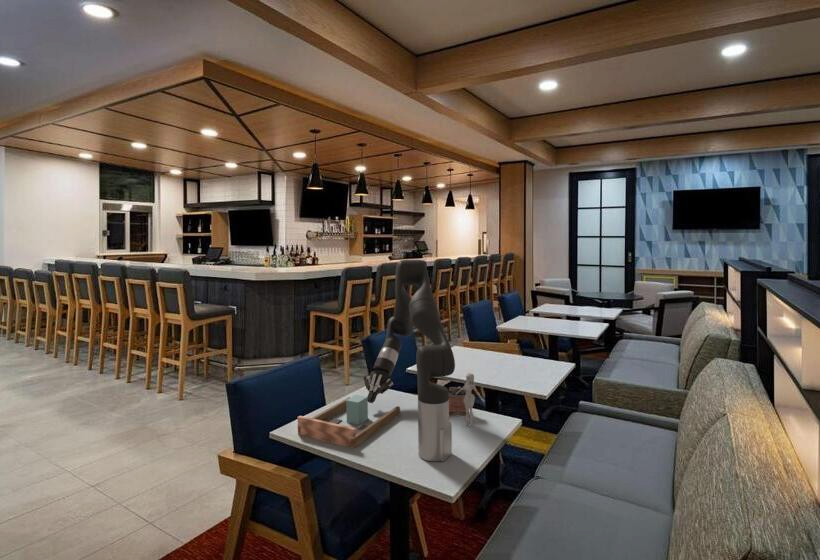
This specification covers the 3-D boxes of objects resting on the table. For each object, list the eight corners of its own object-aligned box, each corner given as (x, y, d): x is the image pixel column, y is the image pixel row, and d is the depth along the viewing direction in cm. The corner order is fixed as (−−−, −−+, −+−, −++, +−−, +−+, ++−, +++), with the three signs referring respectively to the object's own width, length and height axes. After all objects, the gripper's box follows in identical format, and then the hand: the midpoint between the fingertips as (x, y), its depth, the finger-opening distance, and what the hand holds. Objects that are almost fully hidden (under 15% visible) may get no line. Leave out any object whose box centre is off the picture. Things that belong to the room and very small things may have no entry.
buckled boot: (469, 412, 171) (469, 386, 170) (469, 416, 167) (469, 389, 166) (447, 411, 171) (447, 385, 170) (447, 415, 168) (447, 388, 167)
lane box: (400, 414, 169) (399, 398, 169) (353, 448, 143) (353, 429, 143) (349, 404, 180) (349, 389, 179) (298, 434, 154) (297, 416, 153)
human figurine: (452, 421, 163) (452, 371, 161) (458, 418, 165) (458, 369, 164) (480, 431, 155) (481, 378, 153) (487, 427, 157) (487, 376, 155)
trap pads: (374, 428, 158) (374, 426, 158) (361, 437, 151) (361, 436, 151) (331, 418, 166) (331, 417, 166) (317, 427, 159) (317, 426, 159)
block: (367, 418, 166) (367, 396, 166) (358, 424, 161) (358, 402, 160) (356, 416, 169) (355, 394, 168) (346, 422, 163) (346, 400, 163)
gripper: (367, 354, 182) (350, 394, 172) (397, 358, 175) (381, 400, 166) (375, 364, 187) (359, 403, 177) (404, 368, 181) (388, 409, 171)
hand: (369, 402), depth 172 cm, fingers closed
